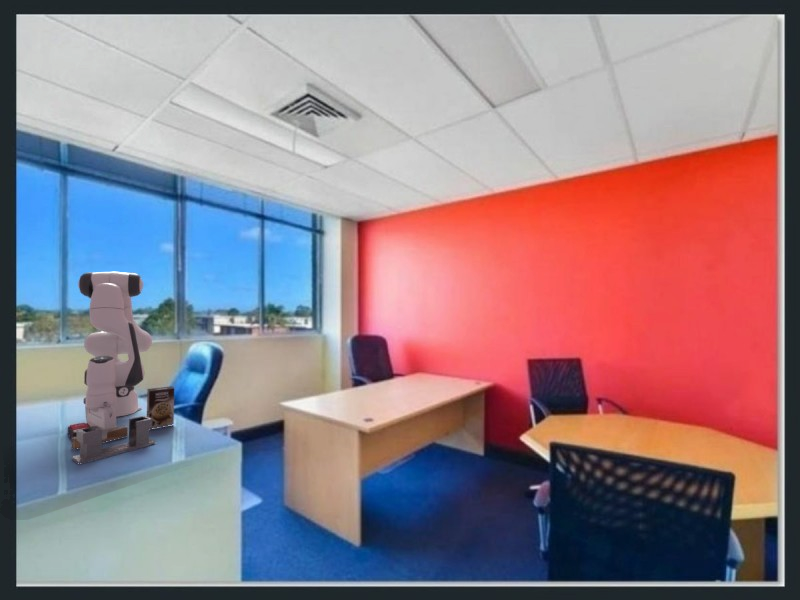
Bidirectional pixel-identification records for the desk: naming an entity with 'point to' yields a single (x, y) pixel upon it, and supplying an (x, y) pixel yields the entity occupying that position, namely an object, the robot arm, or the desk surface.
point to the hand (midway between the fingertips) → (100, 437)
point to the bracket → (93, 445)
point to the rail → (111, 435)
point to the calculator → (77, 428)
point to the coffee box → (160, 406)
